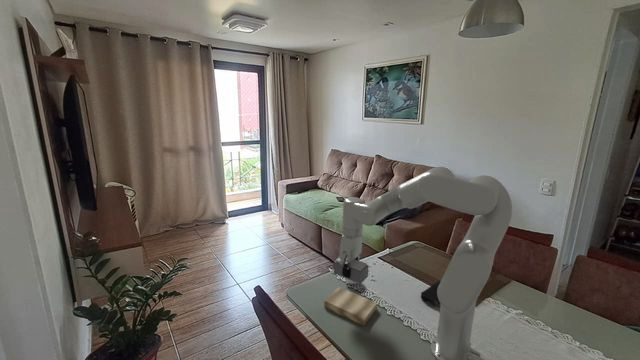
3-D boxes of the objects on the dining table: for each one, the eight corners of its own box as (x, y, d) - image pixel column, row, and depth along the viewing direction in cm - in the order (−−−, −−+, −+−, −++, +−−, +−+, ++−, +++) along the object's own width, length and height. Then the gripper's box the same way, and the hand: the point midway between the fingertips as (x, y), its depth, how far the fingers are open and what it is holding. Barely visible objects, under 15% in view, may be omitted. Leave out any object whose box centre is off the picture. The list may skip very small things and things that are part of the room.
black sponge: (437, 310, 116) (438, 302, 115) (418, 299, 122) (419, 292, 121) (457, 294, 126) (458, 287, 125) (439, 285, 132) (439, 278, 131)
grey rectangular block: (341, 266, 119) (342, 253, 117) (367, 276, 112) (368, 263, 111) (333, 273, 114) (333, 260, 113) (360, 284, 107) (361, 270, 106)
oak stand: (376, 309, 116) (377, 302, 115) (364, 325, 107) (364, 318, 106) (338, 293, 126) (338, 287, 125) (324, 307, 117) (324, 300, 117)
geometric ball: (356, 288, 134) (365, 280, 129) (341, 285, 131) (349, 277, 126) (355, 273, 139) (363, 265, 134) (340, 269, 137) (348, 261, 132)
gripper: (354, 220, 117) (353, 260, 122) (331, 235, 104) (330, 279, 108) (371, 225, 113) (369, 266, 118) (349, 241, 99) (347, 287, 104)
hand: (350, 272), depth 113 cm, fingers closed on grey rectangular block, 6 cm apart
